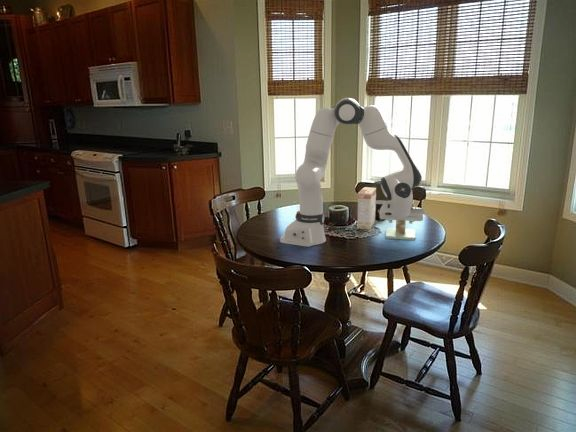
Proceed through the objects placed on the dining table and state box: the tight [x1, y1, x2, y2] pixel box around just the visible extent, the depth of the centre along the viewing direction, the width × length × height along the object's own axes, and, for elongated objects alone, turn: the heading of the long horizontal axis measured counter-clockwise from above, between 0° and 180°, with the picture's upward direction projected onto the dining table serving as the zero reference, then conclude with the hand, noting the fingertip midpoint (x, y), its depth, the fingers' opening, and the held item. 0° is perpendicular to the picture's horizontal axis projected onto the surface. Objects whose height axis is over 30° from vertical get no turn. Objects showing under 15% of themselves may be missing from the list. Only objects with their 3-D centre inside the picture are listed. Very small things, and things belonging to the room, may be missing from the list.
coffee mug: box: [375, 200, 386, 222], centre depth 238 cm, size 12×9×10 cm
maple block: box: [395, 220, 407, 234], centre depth 210 cm, size 4×4×9 cm
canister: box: [373, 178, 389, 201], centre depth 253 cm, size 11×10×20 cm
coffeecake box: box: [356, 186, 376, 231], centre depth 226 cm, size 15×7×20 cm, turn 157°
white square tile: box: [384, 227, 416, 241], centre depth 212 cm, size 14×14×1 cm
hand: (400, 221), depth 207 cm, fingers open, 8 cm apart
